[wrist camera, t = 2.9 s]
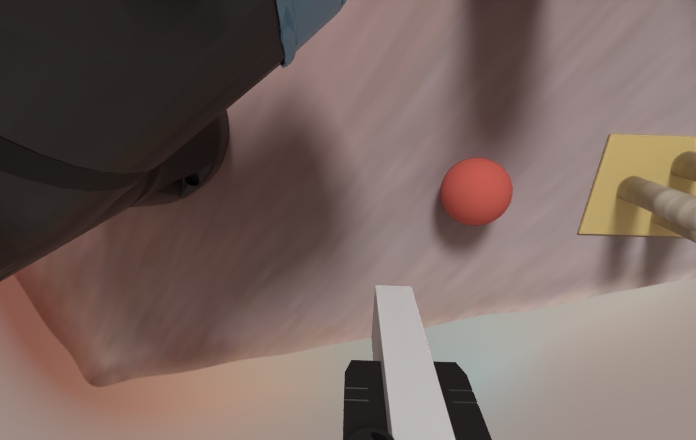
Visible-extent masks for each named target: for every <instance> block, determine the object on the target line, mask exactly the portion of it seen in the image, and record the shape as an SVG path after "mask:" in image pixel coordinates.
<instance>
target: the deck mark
mask: <svg viewBox="0 0 696 440" xmlns="http://www.w3.org/2000/svg"><path fill="white" fill-rule="evenodd" d="M687 151H692V152H696V137H687V136H656V135H624V134H609V137H608V140H607V143H606V146H605V149H604V152H603V156H602V159H601V162H600V165H599V168H598V171H597V174H596V177H595V180H594V184H593V187H592V190H591V193H590V196H589V199H588V202H587V205H586V208H585V212H584V215H583V218H582V221H581V224H580V227H579V230H578V233H579V234H609V235H642V236H675V237H683V236H681V235H679V234H676V233H674V232H672V231H670V230H668V229H666V228H664V227H662V226H660V225H658V224H656V223H654V222H653V221H652V219H651V214H652V212H650V211H648V210H646V209H643V208H641V207H639V206H637V205H634V204H632V203H630V202H628V201H625V200H623V199H621V198H620V197H619V196H618V195H617V188H618V186H619V184H620V183H621V182H622V181H623V180H624V179H625V178H627V177H630V176H637V177H640V178H643V179H646V180H649V181H652V182H655V183H658V184H661V185H664V186H666V187H669V188H672V189H675V190H678V191H681V192H684V193H687V194H690V195H693V196H696V182H695V181H692V180H689V179H685V178H682V177H679V176H676V175H674V174H673V173H672V171H671V165H672V162H673V161H674V159H675V158H676V157H677V156H678V155H680V154H681V153H684V152H687Z"/></svg>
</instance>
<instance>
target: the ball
mask: <svg viewBox="0 0 696 440" xmlns="http://www.w3.org/2000/svg"><path fill="white" fill-rule="evenodd" d="M440 194H441V201H442V204H443V206H444V208H445V210H446V211H447V212H448V214H449V215H450V216H451V217H453V218H454V219H455V220H457V221H459V222H461V223H464V224H468V225H484V224H487V223H490V222H492V221H494V220H496V219H497V218H499V217H500V216H501V215H502V214H503V213H504V212H505V211H506V209H507V208H508V206H509V204H510V202H511V198H512V183H511V179H510V177H509V175H508V174H507V172H506V171H505V170H504V168H503V167H501V166H500V165H499V164H498V163H496V162H494V161H491V160H489V159H485V158H470V159H466V160H463V161H461V162H459V163H457V164H456V165H454V166H453V167H452V168H451V169H450V170H449V171H448V172H447V174H446V175H445V177H444V179H443V181H442V184H441V191H440Z"/></svg>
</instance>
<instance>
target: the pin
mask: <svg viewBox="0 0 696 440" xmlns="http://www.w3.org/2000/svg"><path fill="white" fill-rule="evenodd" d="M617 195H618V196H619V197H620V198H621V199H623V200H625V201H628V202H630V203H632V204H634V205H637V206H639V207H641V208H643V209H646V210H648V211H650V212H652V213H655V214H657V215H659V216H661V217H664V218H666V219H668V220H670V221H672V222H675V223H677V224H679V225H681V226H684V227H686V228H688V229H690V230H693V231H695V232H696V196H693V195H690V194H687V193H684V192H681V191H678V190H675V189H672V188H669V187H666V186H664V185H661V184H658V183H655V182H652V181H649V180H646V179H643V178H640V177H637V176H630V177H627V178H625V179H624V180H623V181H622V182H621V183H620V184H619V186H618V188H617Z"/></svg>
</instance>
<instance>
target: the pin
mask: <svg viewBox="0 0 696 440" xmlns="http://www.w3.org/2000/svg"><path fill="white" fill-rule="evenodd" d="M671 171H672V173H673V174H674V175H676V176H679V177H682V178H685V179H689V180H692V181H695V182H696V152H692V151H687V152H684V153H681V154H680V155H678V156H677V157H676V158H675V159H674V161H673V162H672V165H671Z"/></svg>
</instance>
